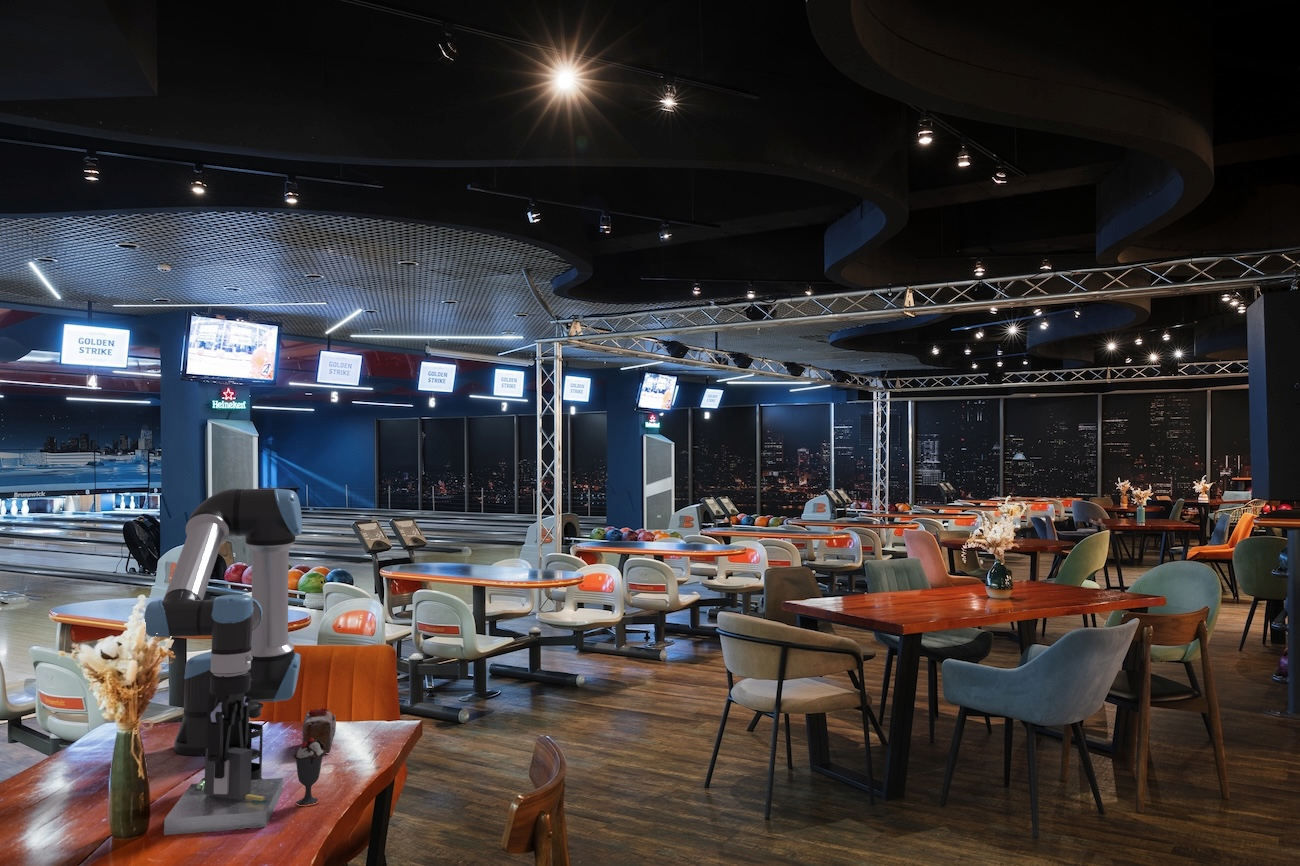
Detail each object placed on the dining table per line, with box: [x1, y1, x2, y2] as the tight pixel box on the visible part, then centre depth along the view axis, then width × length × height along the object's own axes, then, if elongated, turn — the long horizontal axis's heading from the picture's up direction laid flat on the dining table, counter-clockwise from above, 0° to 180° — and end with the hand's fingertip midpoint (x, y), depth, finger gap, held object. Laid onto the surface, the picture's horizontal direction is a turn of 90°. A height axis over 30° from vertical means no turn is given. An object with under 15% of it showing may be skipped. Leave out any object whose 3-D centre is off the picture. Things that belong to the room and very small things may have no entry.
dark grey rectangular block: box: [204, 747, 264, 801], centre depth 184 cm, size 14×3×9 cm, turn 70°
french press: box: [244, 678, 264, 780], centre depth 202 cm, size 12×9×23 cm
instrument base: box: [163, 777, 284, 836], centre depth 184 cm, size 20×18×5 cm
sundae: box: [291, 732, 326, 805], centre depth 190 cm, size 7×7×15 cm
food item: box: [301, 707, 337, 754], centre depth 228 cm, size 14×8×10 cm, turn 20°
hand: (227, 789), depth 184 cm, fingers closed on dark grey rectangular block, 4 cm apart
